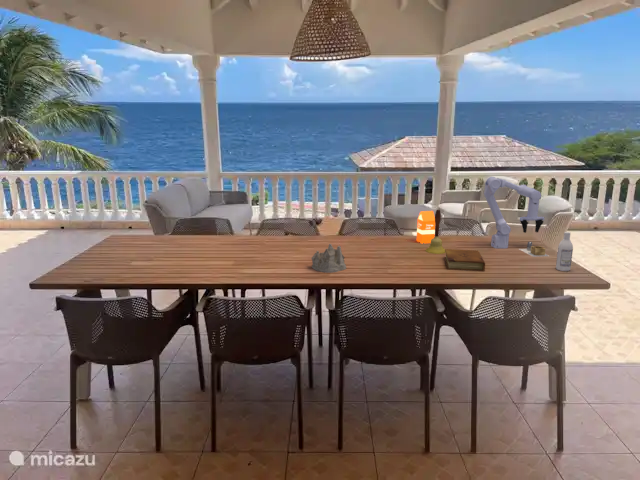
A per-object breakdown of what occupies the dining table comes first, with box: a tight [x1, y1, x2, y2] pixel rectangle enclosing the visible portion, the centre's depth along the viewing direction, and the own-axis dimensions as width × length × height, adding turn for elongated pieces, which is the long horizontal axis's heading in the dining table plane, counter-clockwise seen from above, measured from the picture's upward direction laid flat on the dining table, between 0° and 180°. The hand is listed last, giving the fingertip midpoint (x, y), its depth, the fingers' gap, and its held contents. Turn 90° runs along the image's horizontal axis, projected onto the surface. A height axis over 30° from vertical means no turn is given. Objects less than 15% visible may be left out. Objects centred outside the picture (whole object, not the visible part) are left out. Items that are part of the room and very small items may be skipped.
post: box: [526, 241, 533, 251], centre depth 298 cm, size 2×2×6 cm
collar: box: [531, 245, 546, 256], centre depth 288 cm, size 6×6×4 cm
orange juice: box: [416, 210, 435, 245], centre depth 319 cm, size 8×9×20 cm
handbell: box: [425, 209, 446, 255], centre depth 296 cm, size 12×12×25 cm
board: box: [518, 248, 549, 257], centre depth 293 cm, size 10×17×1 cm, turn 7°
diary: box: [444, 248, 486, 272], centre depth 273 cm, size 23×19×6 cm
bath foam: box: [555, 231, 574, 272], centre depth 262 cm, size 7×7×20 cm
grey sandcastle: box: [310, 243, 347, 274], centre depth 264 cm, size 16×16×15 cm
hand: (530, 232), depth 302 cm, fingers open, 7 cm apart
